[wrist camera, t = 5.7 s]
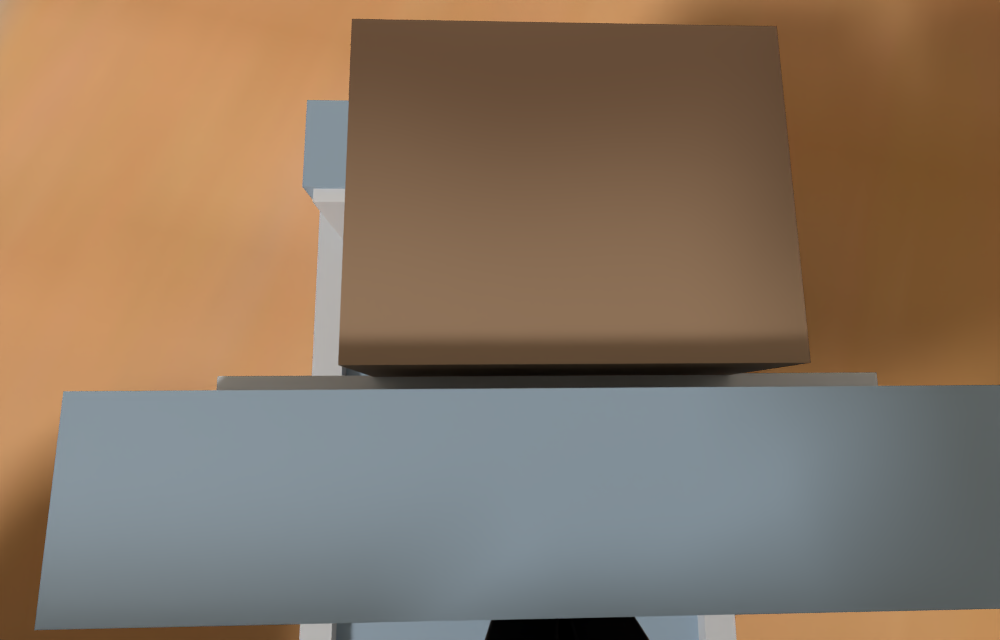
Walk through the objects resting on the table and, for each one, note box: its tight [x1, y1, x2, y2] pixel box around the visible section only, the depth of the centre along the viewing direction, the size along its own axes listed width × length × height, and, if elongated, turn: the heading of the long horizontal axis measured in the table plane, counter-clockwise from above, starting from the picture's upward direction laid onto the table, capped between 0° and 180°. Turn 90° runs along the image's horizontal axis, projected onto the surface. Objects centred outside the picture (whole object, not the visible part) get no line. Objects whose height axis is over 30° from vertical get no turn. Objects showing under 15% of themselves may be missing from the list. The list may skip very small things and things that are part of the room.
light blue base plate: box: [299, 212, 736, 640], centre depth 16 cm, size 14×11×1 cm
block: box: [338, 19, 811, 377], centre depth 11 cm, size 4×5×10 cm
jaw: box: [34, 373, 1000, 630], centre depth 10 cm, size 2×10×10 cm, turn 91°
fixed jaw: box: [303, 100, 349, 239], centre depth 14 cm, size 2×10×4 cm, turn 90°
